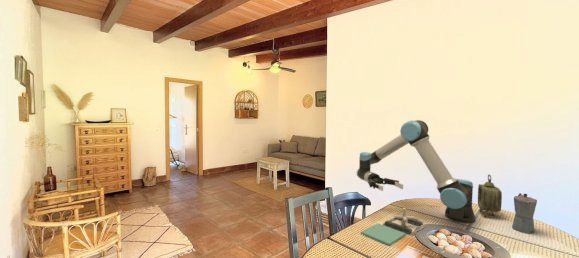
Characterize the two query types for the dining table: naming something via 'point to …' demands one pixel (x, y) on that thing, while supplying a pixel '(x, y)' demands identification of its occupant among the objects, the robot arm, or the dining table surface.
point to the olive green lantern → (489, 197)
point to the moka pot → (524, 213)
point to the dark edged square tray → (402, 228)
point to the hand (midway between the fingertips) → (392, 187)
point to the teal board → (383, 234)
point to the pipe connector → (404, 217)
